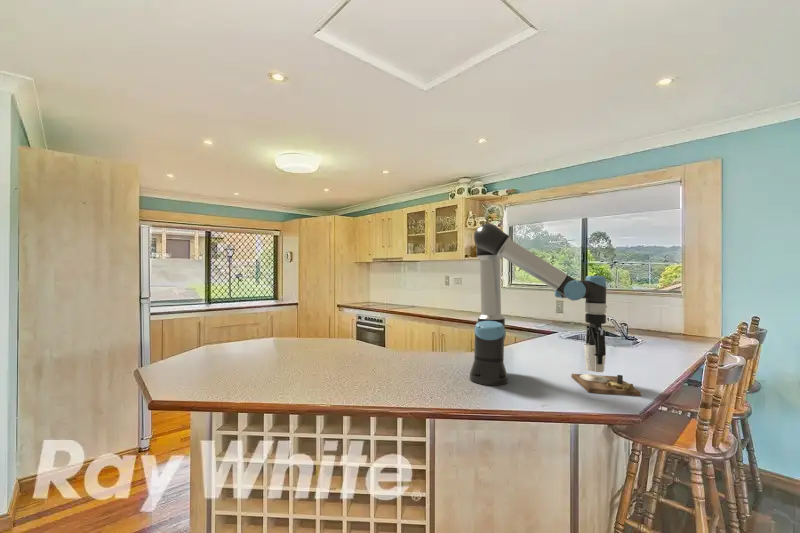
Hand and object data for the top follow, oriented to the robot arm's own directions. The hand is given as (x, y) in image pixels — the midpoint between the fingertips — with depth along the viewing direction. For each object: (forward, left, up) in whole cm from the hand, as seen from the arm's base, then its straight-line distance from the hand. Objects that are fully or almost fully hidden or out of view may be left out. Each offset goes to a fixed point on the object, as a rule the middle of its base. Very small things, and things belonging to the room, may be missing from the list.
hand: (595, 369), depth 154 cm
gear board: (+2, -4, -5) cm, 7 cm away
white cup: (0, 0, 0) cm, 0 cm away
